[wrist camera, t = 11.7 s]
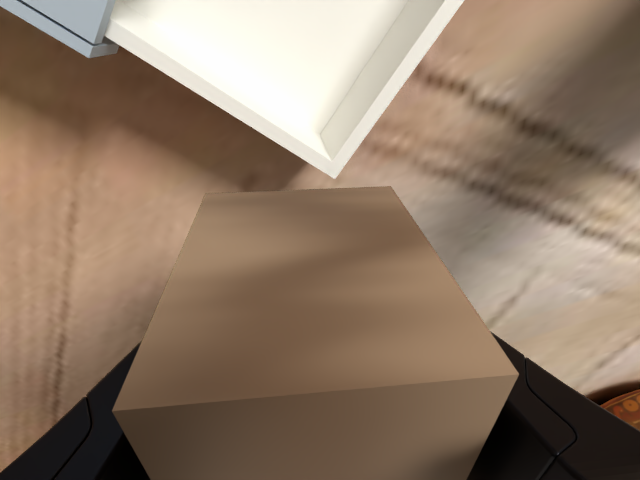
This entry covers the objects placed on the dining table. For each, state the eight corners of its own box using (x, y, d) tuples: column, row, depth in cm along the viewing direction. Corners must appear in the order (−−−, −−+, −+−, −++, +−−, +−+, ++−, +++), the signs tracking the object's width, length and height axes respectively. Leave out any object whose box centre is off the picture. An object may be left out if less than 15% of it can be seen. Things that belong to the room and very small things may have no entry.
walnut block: (390, 186, 9) (518, 373, 4) (374, 316, 12) (442, 526, 7) (205, 193, 9) (111, 410, 4) (231, 327, 12) (195, 558, 7)
